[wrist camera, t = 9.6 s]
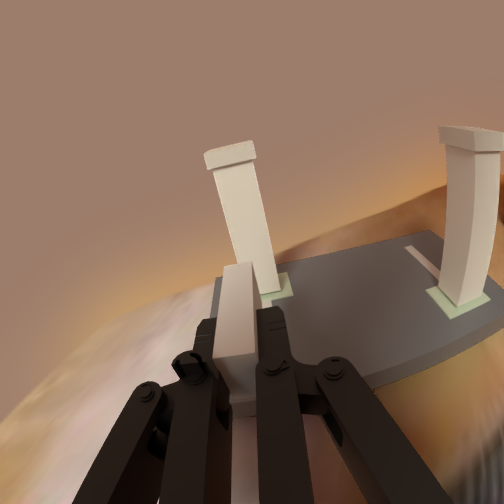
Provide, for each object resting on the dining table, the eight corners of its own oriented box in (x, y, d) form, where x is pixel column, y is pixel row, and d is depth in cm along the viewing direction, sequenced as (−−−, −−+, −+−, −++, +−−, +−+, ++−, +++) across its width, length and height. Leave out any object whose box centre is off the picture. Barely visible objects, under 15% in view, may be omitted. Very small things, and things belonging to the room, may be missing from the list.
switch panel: (428, 244, 29) (429, 228, 28) (511, 322, 14) (519, 303, 13) (220, 292, 30) (215, 276, 29) (209, 420, 16) (198, 405, 15)
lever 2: (462, 274, 19) (470, 126, 13) (485, 296, 15) (504, 132, 10) (433, 285, 19) (438, 125, 13) (456, 310, 16) (473, 131, 10)
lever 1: (279, 270, 27) (251, 140, 21) (284, 291, 24) (253, 142, 18) (243, 278, 27) (209, 150, 22) (244, 299, 24) (203, 154, 18)
